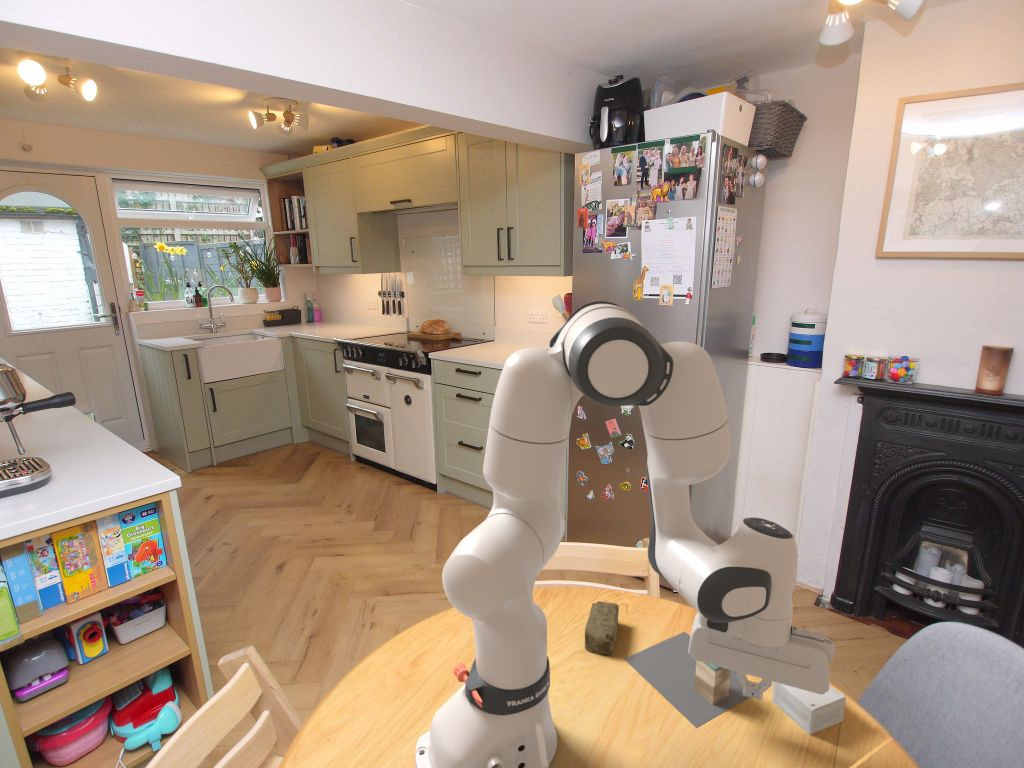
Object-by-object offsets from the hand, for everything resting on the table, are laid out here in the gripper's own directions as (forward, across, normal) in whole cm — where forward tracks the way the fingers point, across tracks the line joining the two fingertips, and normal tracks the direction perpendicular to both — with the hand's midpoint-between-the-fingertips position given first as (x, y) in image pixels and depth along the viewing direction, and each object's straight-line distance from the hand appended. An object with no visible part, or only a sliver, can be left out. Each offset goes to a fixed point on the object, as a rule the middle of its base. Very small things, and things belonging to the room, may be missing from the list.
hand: (752, 695), depth 85 cm
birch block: (+6, +6, -5) cm, 10 cm away
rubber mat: (+6, +10, -8) cm, 14 cm away
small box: (+6, -9, -7) cm, 13 cm away
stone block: (+6, +28, -12) cm, 31 cm away
